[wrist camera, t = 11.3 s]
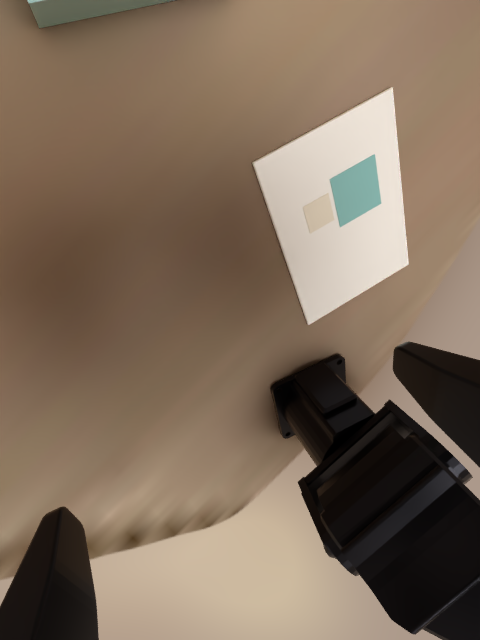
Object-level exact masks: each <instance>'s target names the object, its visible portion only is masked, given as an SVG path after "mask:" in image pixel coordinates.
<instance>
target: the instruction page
mask: <svg viewBox="0 0 480 640" xmlns="http://www.w3.org/2000/svg"><path fill="white" fill-rule="evenodd" d="M252 164H253V167H254V170H255V173H256V176H257V179H258V182H259V185H260V188H261V191H262V194H263V196H264V199H265V202H266V205H267V208H268V211H269V214H270V217H271V220H272V223H273V226H274V229H275V231H276V234H277V237H278V240H279V243H280V246H281V249H282V252H283V255H284V258H285V261H286V264H287V267H288V269H289V272H290V275H291V278H292V281H293V284H294V287H295V290H296V293H297V296H298V299H299V302H300V304H301V307H302V310H303V313H304V316H305V319H306V322H307V324H308V325H310V324H311V323H313V322H315V321H316V320H318V319H319V318H321V317H323V316H324V315H326V314H328V313H329V312H331V311H333V310H334V309H336V308H338V307H339V306H341V305H343V304H344V303H346V302H347V301H349V300H351V299H352V298H354V297H356V296H357V295H359V294H361V293H362V292H364V291H366V290H367V289H369V288H371V287H372V286H374V285H375V284H377V283H379V282H380V281H382V280H384V279H385V278H387V277H389V276H390V275H392V274H394V273H395V272H397V271H399V270H400V269H402V268H403V267H405V266H407V265H408V264H409V263H408V252H407V241H406V230H405V219H404V208H403V197H402V186H401V174H400V163H399V152H398V141H397V130H396V119H395V108H394V97H393V87H391V88H388V89H386V90H385V91H383V92H381V93H379V94H377V95H375V96H374V97H372V98H370V99H368V100H366V101H364V102H363V103H361V104H359V105H357V106H355V107H353V108H351V109H350V110H348V111H346V112H344V113H342V114H340V115H339V116H337V117H335V118H333V119H331V120H329V121H328V122H326V123H324V124H322V125H320V126H318V127H316V128H315V129H313V130H311V131H309V132H307V133H305V134H304V135H302V136H300V137H298V138H296V139H294V140H293V141H291V142H289V143H287V144H285V145H283V146H281V147H280V148H278V149H276V150H274V151H272V152H270V153H269V154H267V155H265V156H263V157H261V158H259V159H258V160H256V161H254V162H252Z"/></svg>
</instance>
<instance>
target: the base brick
mask: <svg viewBox="0 0 480 640" xmlns="http://www.w3.org/2000/svg"><path fill="white" fill-rule="evenodd" d="M27 1H28V3H29V5H30V8H31V10H32V12H33V15H34V17H35V19H36V22H37V24H38V26H39V28H44V27H49V26H53V25H58V24H63V23H68V22H73V21H78V20H83V19H88V18H92V17H97V16H102V15H107V14H112V13H117V12H122V11H127V10H131V9H136V8H141V7H146V6H151V5H156V4H161V3H166V2H170V1H175V0H27Z"/></svg>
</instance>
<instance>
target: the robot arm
mask: <svg viewBox="0 0 480 640" xmlns="http://www.w3.org/2000/svg"><path fill="white" fill-rule="evenodd" d="M393 371H394V374H395V375H396V377H397V378H398V379H399V381H400V382H401V383H402V384H403V385H404V386H405V388H406V389H407V390H408V392H409V393H410V394H411V395H412V396H413V398H414V399H415V400H416V401H417V403H418V404H419V405H420V406H421V407H422V409H423V410H424V411H425V412H426V413H427V414H428V416H429V417H430V418H431V419H432V420H433V421H434V422H435V423H436V424H437V425H438V426H439V427H440V428H441V429H442V430H443V431H444V432H445V433H446V434H447V435H448V436H449V437H450V438H451V439H452V440H453V441H454V442H455V443H456V444H457V445H458V446H459V447H460V448H461V449H462V450H463V451H464V452H465V453H466V454H467V455H468V456H469V457H470V458H471V459H472V460H473V461H474V462H475V463H476V464H477V465H478V466H479V467H480V360H477V359H473V358H469V357H466V356H462V355H458V354H454V353H451V352H447V351H443V350H439V349H436V348H432V347H428V346H424V345H421V344H417V343H413V342H405V343H403V344H401V345H399V346H397V347H395V349H394V356H393ZM278 388H279V389H278ZM271 392H272V396H273V401H274V405H275V410H276V414H277V419H278V423H279V428H280V432H281V435H282V436H283V438H289V437H291V436H293V435H296V436H297V438H298V439H299V441H300V442H301V443H302V445H303V446H304V448H305V449H306V451H307V452H308V454H309V455H310V457H311V458H312V459H313V461H314V463H315V464H316V465H317V467H316V468H315V469H314V470H313V471H312V472H310V473H309V474H308V475H307V476H306V477H303V478H302V479H301V480H299V481H298V484H299V486H300V489H301V491H302V496H303V498H304V501H305V503H306V505H307V508H308V510H309V512H310V515H311V517H312V519H313V521H314V524H315V526H316V528H317V531H318V533H319V535H320V537H321V540H322V542H323V545H324V549H325V551H326V553H327V554H328V555H329V556H330V557H332V558H335V559H337V560H338V561H339V562H340V563H341V564H342V565H343V566H344V567H345V568H346V569H347V570H348V571H349V572H350V573H351V574H353V575H355V576H358V575H360V576H361V577H362V578H363V580H364V581H365V582H366V584H367V585H368V586H369V587H370V589H371V590H372V592H373V593H374V594H375V596H376V597H377V599H378V600H379V602H380V603H381V605H382V606H383V608H384V609H385V611H386V612H387V614H388V615H389V617H390V618H391V619H392V620H393V621H394V622H396V623H397V624H398V625H400V626H401V627H403V628H404V629H406V630H407V631H408V632H410V633H412V634H416V633H418V632H419V631H420V630H422V629H424V630H425V631H427V632H429V633H431V634H433V635H435V636H437V637H438V638H440V639H442V640H480V500H479V499H478V498H477V497H476V496H475V495H474V494H473V493H472V492H471V491H470V490H469V489H468V488H467V487H466V486H465V485H464V484H465V483H467V482H468V481H469V480H470V479H471V478H473V477H472V475H471V474H470V473H469V472H468V470H467V469H466V468H465V467H464V466H463V465H462V464H461V463H460V462H459V461H458V460H457V459H456V458H455V457H454V456H453V455H452V454H451V453H450V452H449V451H448V450H447V449H446V448H445V447H444V446H443V445H441V443H439V442H438V441H437V440H436V439H435V438H434V437H433V436H432V435H430V434H429V433H428V432H427V431H426V430H425V429H424V428H422V427H421V426H420V425H419V424H418V423H417V422H415V421H414V420H413V419H412V418H411V417H409V416H408V415H407V414H406V413H405V412H404V411H403V410H401V409H400V408H399V407H398V406H397V405H395V404H394V403H393V402H392V401H391V400H388V402H387V403H385V404H384V405H385V406H384V407H383V408H382V409H381V410H380V411H378V412H377V413H376V414H375V413H374V412H373V411H372V410H371V409H370V408H369V407H368V406H367V405H366V404H365V403H364V402H363V401H362V400H361V399H360V398H359V397H358V396H357V395H356V393H355V392H354V391H353V390H352V389H351V388H350V387H349V386H348V385H347V384H346V375H345V359H344V357H342V356H341V355H340V354H338V355H335V356H333V357H331V358H328V359H326V360H324V361H322V362H320V363H318V364H315V365H313V366H311V367H309V368H307V369H305V370H303V371H300V372H298V373H296V374H294V375H292V376H290V377H287V378H285V379H283V380H281V381H279V382H277V383H275V384H273V386H272V387H271ZM0 640H99V638H98V621H97V606H96V597H95V591H94V584H93V579H92V572H91V567H90V561H89V555H88V549H87V543H86V537H85V531H84V528H83V525H82V524H81V522H80V521H79V520H78V519H77V518H76V517H75V516H74V515H73V514H72V513H71V512H70V511H69V510H68V509H67V508H66V507H59V508H57V509H55V510H53V511H51V512H49V513H47V514H46V515H45V516H44V517H43V518H42V520H41V522H40V524H39V526H38V529H37V531H36V533H35V535H34V537H33V539H32V541H31V543H30V545H29V547H28V549H27V552H26V554H25V556H24V558H23V560H22V562H21V564H20V566H19V568H18V570H17V572H16V575H15V577H14V579H13V581H12V583H11V585H10V587H9V589H8V591H7V593H6V596H5V598H4V600H3V602H2V604H1V606H0Z"/></svg>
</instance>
